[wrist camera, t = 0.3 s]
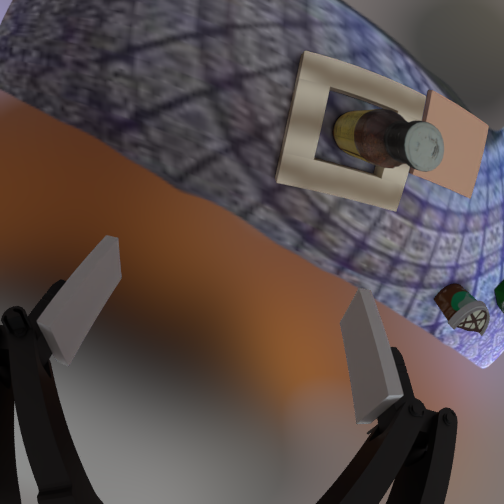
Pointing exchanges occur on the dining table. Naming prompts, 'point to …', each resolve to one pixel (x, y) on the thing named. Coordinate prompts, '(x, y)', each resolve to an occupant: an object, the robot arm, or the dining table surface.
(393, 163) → the sauce bottle
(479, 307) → the food container
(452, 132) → the terracotta tile
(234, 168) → the dining table surface
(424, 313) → the dining table surface
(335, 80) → the bottle stand
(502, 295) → the milk carton
